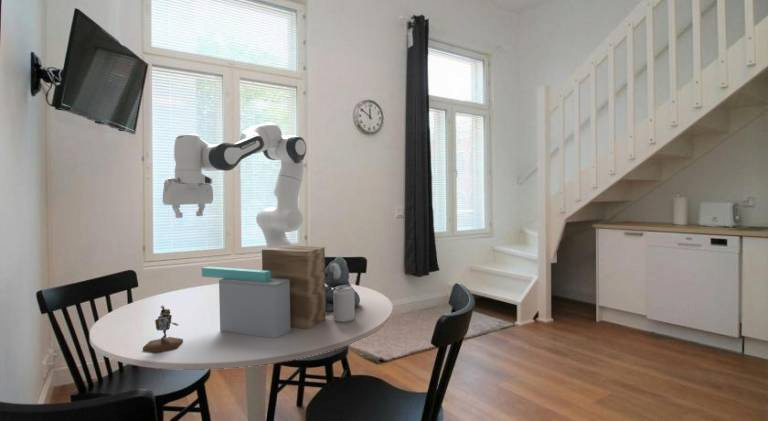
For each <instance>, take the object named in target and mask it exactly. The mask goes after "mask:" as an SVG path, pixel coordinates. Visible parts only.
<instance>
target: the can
mask: <svg viewBox="0 0 768 421" xmlns="http://www.w3.org/2000/svg"><path fill="white" fill-rule="evenodd" d="M352 288H353V286H352V285H351V286H347V285H343V286H337V287H335V290H334V292H333V306H334V311H333V319H334V321H335V322H337V323H349V322H350V323H351V322H352V321H353V320H354V319H355V316H356V314H355V309H356V307H355V303H354V290H355V289H354V288H353V289H354V290H353V289H352Z"/></svg>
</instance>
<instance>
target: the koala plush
mask: <svg viewBox="0 0 768 421" xmlns="http://www.w3.org/2000/svg"><path fill="white" fill-rule="evenodd" d="M347 264H348V263H347V261H346V260H345V259H344V258H343V257H341V256H337V257H336V258H334V260H331V261H330V262H329V263H328V265H327V266H325V312H334V306H333V292H334V290H335V287H337V286H343V285H347V286H352V284H351V283H350V281H349V280H350V274H349V272H350V270H349V268H348V265H347ZM352 289H353V290H354V303H355V308H357V307H359V305H360V302H361V299H360V295H359V294H358V292H357V291H356V290H355V288H352Z"/></svg>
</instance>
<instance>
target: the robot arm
mask: <svg viewBox="0 0 768 421" xmlns="http://www.w3.org/2000/svg"><path fill="white" fill-rule="evenodd" d="M173 148H174V149H173V156H174V157H173V158H174V162H175V167H174V177H173V178H170V177H168V178H167V179H165V181H164V182H163V189H162V190H163V191H162V203H163V205H164V206H171V207H172V208H171V209H172V210H173V212H174V213H175V215H174V216H175V219H181V218H182V219H183V212H181V210H180V208H181V205H197V207H198V209H197V211H195V213H196V214H195V215H196V217H203V215H204V213H203V212H204V210H205V209H206V204H212V203H213V201H214V188H213V186H212V184H213V178H211V177H209V176H207V175H205V174H203V173H202V171H206V172H207V171H208V172H209V171H223V172H227V171H233V170H234V169H235V168H236V167H237V166H238V165H239V164H240V162H241V161H242V160H244V159H245V158H248V157H249V156H252V155H254V154H255V155H256V154H259V153H263V155H264V156H265V158H267V159H268V160H271V161H280V164H281V165H280V169H279V173H278V175H277V179H276V183H275V186H274V190H273V195H274V196H275V197H276V199H277V204H276V207H275V206H273V207H265V208H263V209H260V210H259V211H258V213H257V215H256V224H257V226H258V227H259V228H260V229H261V231H262V233H263V236H264V240H265V244H266V249H267V248H272V247H277V246H281V245H285V246H293V245H292V242H291V241H290V240H289V239H288V237H287V234H286V233H292V232H295V231H298V230H299V229H300V228H301V227H302V225H303V222H304V216H303V215H302V213H301V211H300V210H299V204H298V202H299V195H300V189H301V185H302V181H303V177H304V166H305V165H304V159H305V156H306V153H307V143H306V141H305V139H304V138H303V137H301V136H299V135H282V130H281V128H280V127H279V126H278V125H277V124H275V123H273V122H265V123H260V124H257V125H253V126H250V127H248V128H247V129H245V130H244V131H242V132H241V134H240V139H239V141H238V142H235V143H230V142H222V143H221V142H220V143H215V144H210V143H208V142H206V141H205V140H203V139H202V138H201V137H200V136H199V134H197V133H189V134H181V135H178V136H177V137H176V138H175V140H174V147H173Z"/></svg>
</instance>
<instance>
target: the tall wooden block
mask: <svg viewBox="0 0 768 421" xmlns="http://www.w3.org/2000/svg"><path fill="white" fill-rule="evenodd" d="M325 249H326V248H325V247H323V246H303V245H292V246H285V245H281V246H277V247H272V248H267V247H266V248H262V249H261V267H262V268H261V270H266V271H271V278H277V279H290V328H296V329H298V328H299V329H306V330H309V329H311V328H312V327H315V326H316V325H318V324H319V323H322V322H323V321H324V320H326V311H325V286H326V284H325V268H326V263H325V262H326V260H325V255H326V252H325ZM322 320H323V321H322Z"/></svg>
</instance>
